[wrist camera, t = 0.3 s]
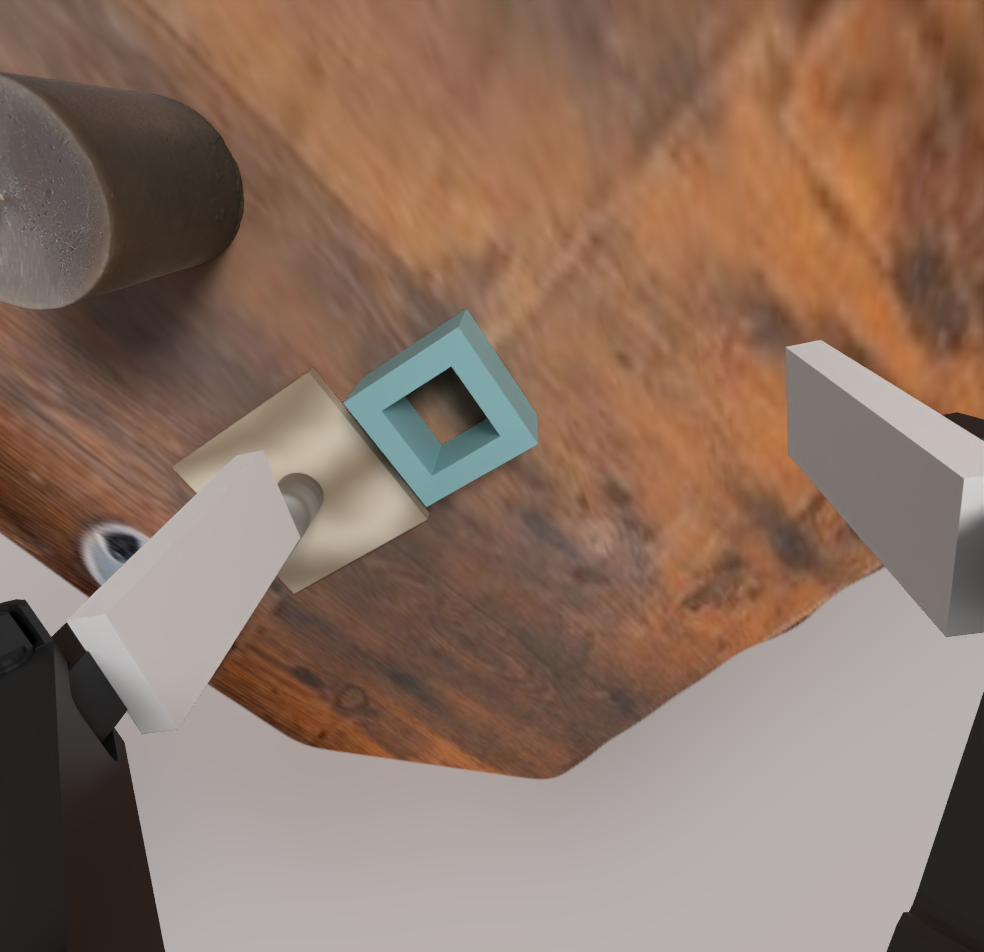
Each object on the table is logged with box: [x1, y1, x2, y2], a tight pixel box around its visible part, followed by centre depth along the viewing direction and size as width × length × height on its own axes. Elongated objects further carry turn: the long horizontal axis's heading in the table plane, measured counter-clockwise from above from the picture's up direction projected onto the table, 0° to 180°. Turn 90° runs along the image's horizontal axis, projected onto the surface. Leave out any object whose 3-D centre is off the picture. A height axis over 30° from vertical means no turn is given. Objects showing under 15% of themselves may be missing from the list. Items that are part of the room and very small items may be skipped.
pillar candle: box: [0, 72, 244, 310], centre depth 32 cm, size 10×10×15 cm
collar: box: [344, 308, 538, 507], centre depth 42 cm, size 9×9×5 cm
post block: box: [172, 368, 429, 594], centre depth 45 cm, size 14×14×8 cm
